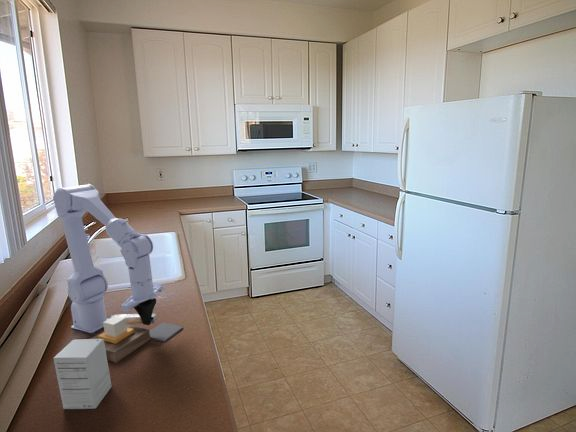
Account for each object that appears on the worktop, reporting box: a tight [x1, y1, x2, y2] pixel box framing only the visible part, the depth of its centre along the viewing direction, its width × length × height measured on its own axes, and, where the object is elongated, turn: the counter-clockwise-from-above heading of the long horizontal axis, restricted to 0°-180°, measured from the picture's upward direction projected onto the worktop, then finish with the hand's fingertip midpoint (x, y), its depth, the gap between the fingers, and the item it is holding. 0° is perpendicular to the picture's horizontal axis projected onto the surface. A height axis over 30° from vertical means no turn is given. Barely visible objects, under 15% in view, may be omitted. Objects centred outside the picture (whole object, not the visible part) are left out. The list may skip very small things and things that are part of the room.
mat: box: [149, 322, 184, 343], centre depth 109 cm, size 8×8×1 cm
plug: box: [98, 316, 134, 344], centre depth 102 cm, size 6×6×8 cm
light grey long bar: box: [108, 313, 157, 325], centre depth 106 cm, size 13×2×3 cm, turn 89°
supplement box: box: [53, 338, 112, 410], centre depth 81 cm, size 7×7×13 cm
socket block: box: [90, 324, 151, 363], centre depth 102 cm, size 12×12×3 cm
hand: (147, 324), depth 104 cm, fingers closed
